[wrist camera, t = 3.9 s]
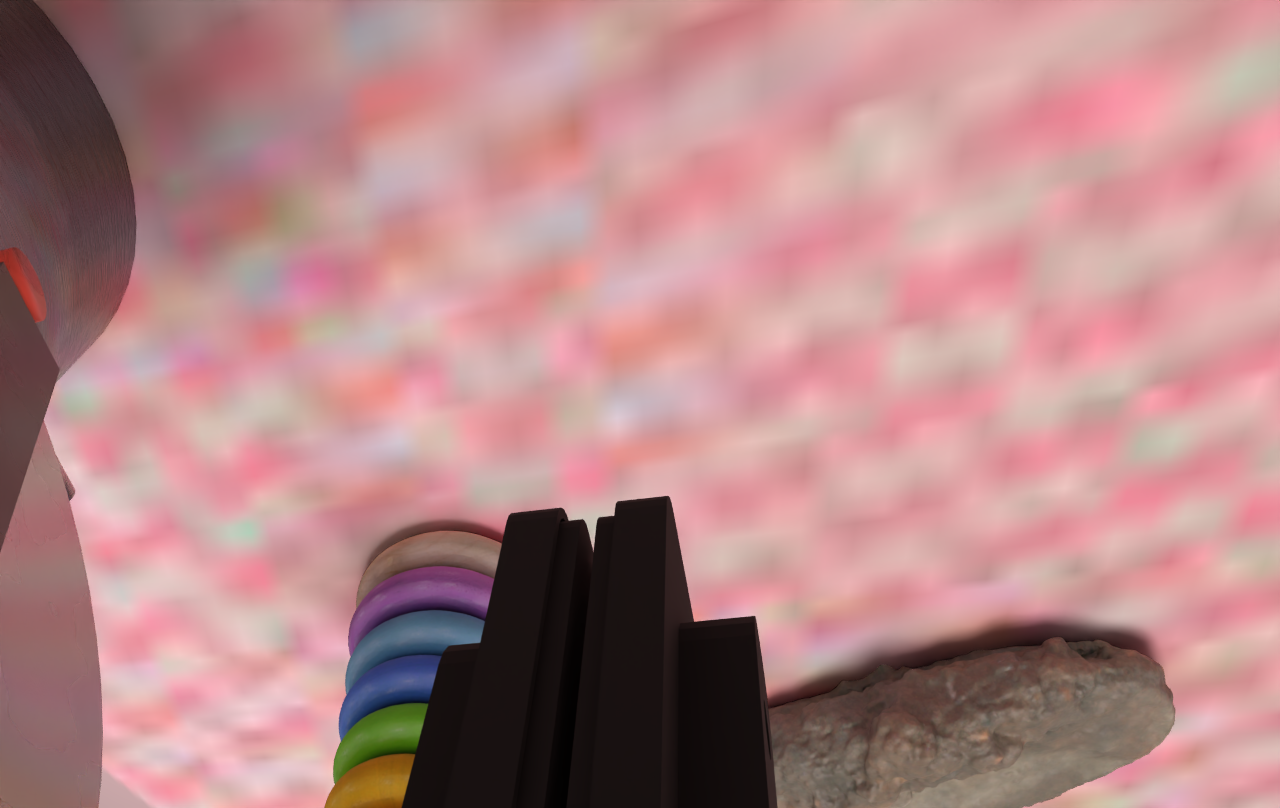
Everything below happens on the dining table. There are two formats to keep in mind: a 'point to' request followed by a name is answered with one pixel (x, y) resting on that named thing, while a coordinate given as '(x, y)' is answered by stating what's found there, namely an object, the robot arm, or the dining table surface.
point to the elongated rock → (972, 729)
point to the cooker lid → (40, 580)
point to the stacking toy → (404, 656)
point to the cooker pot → (62, 184)
